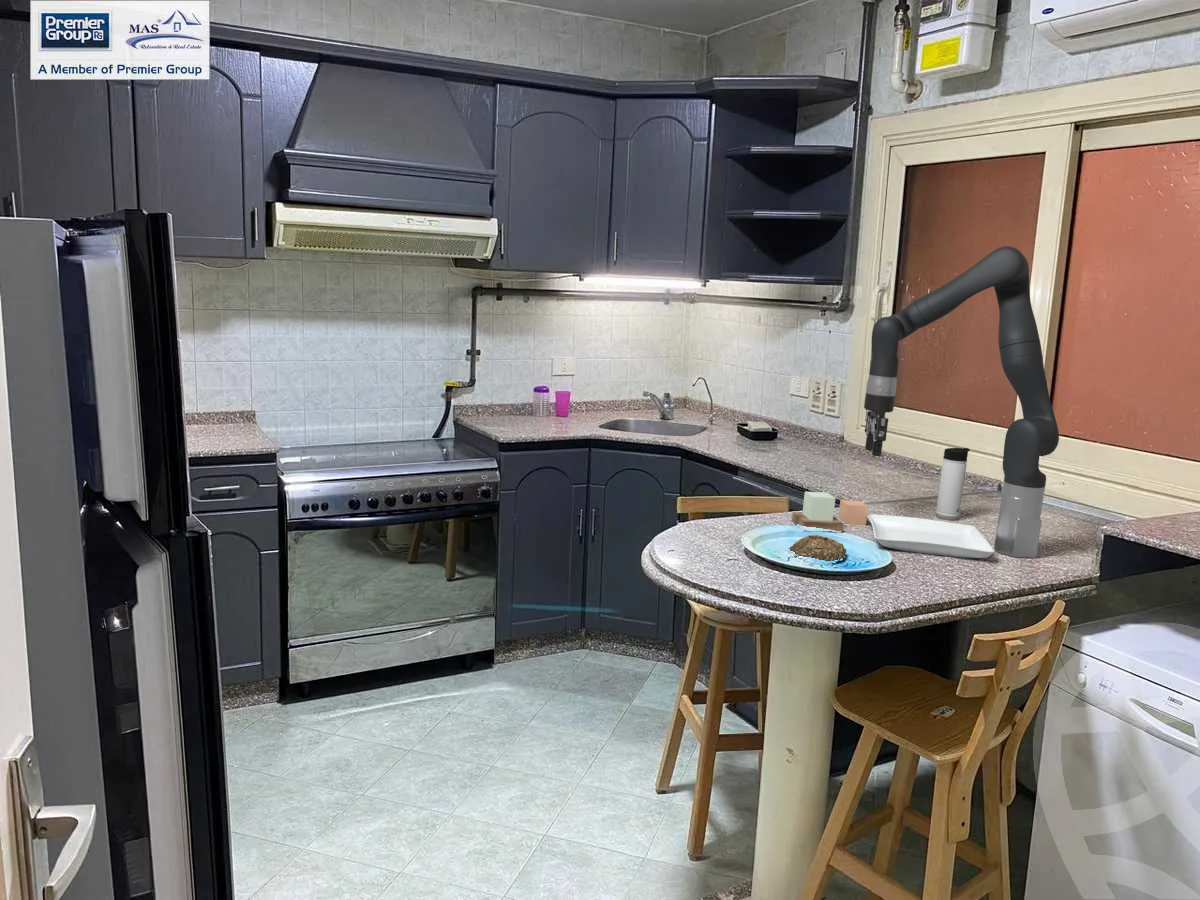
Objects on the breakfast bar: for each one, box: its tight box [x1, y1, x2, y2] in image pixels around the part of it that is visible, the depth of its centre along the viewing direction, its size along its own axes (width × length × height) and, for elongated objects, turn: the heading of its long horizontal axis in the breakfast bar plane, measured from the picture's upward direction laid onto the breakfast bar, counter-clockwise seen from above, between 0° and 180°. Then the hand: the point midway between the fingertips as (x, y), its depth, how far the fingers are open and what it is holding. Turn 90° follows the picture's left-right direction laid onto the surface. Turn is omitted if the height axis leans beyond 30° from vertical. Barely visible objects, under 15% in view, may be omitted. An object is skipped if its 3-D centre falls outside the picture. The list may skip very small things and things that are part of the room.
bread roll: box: [788, 534, 847, 561], centre depth 215 cm, size 13×12×5 cm
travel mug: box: [935, 447, 970, 521], centre depth 261 cm, size 6×7×20 cm
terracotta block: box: [837, 499, 869, 526], centre depth 249 cm, size 6×6×6 cm
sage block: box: [802, 491, 836, 521], centre depth 241 cm, size 6×6×6 cm
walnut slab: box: [791, 511, 844, 532], centre depth 242 cm, size 10×10×2 cm
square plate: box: [867, 513, 996, 559], centre depth 233 cm, size 27×27×4 cm
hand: (872, 453), depth 250 cm, fingers open, 8 cm apart
